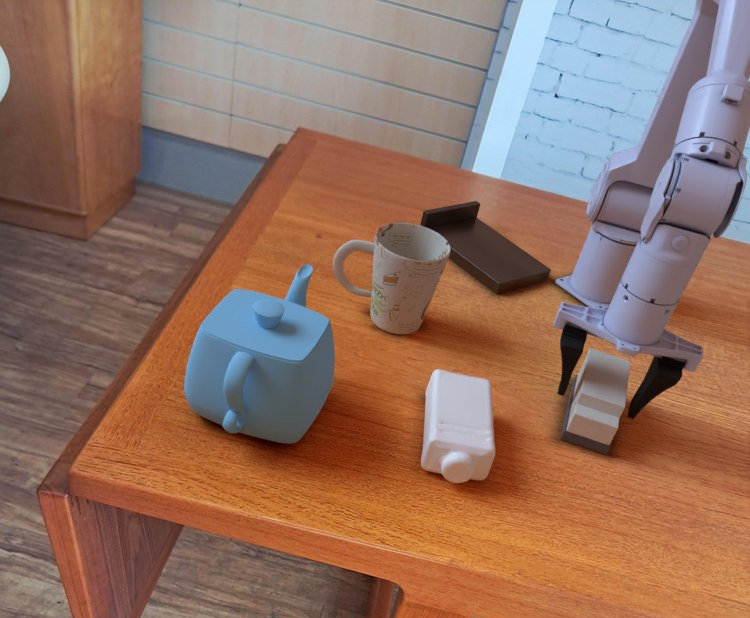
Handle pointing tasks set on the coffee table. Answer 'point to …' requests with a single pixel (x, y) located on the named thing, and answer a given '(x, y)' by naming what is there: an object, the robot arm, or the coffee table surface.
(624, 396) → the white stepped block
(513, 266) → the shoe shelf
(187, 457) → the coffee table surface
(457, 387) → the white bottle
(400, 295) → the mug
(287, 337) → the teapot
